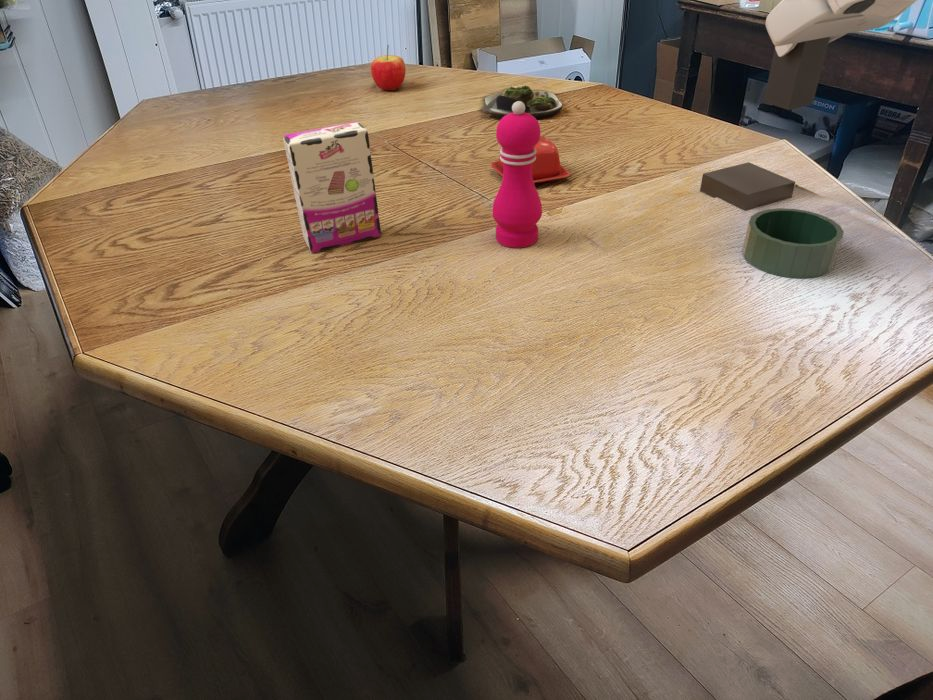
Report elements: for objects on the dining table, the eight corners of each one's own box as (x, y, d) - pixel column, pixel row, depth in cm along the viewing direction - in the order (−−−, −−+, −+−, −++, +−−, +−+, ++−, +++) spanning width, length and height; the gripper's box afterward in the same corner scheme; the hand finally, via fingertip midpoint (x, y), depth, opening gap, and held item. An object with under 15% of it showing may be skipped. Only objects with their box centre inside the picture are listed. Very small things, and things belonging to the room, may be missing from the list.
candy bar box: (371, 224, 107) (358, 119, 98) (382, 237, 103) (369, 129, 94) (301, 240, 103) (280, 133, 94) (310, 254, 100) (289, 143, 90)
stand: (745, 178, 117) (748, 161, 115) (791, 199, 110) (795, 181, 108) (699, 190, 114) (702, 173, 112) (744, 212, 106) (748, 194, 105)
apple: (410, 84, 172) (407, 42, 166) (401, 94, 165) (398, 50, 159) (379, 84, 173) (374, 42, 167) (369, 93, 167) (364, 50, 161)
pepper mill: (534, 252, 98) (538, 111, 86) (486, 246, 100) (484, 107, 88) (546, 230, 104) (551, 95, 92) (500, 225, 106) (500, 92, 94)
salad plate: (476, 97, 161) (476, 76, 159) (551, 93, 162) (552, 73, 159) (483, 123, 146) (483, 101, 143) (566, 118, 146) (567, 96, 144)
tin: (784, 233, 100) (792, 201, 97) (852, 267, 92) (863, 233, 89) (723, 252, 96) (730, 219, 93) (788, 289, 88) (798, 254, 85)
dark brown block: (786, 96, 97) (804, 19, 91) (812, 104, 94) (833, 25, 88) (763, 102, 95) (780, 24, 89) (788, 110, 92) (808, 29, 86)
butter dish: (573, 182, 118) (576, 133, 113) (512, 193, 115) (512, 143, 110) (545, 160, 127) (546, 114, 122) (487, 170, 124) (486, 123, 119)
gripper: (935, -59, 82) (842, 18, 95) (812, -44, 75) (729, 37, 88) (957, -12, 81) (860, 58, 94) (835, 7, 74) (748, 81, 87)
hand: (796, 48), depth 91 cm, fingers closed on dark brown block, 4 cm apart
